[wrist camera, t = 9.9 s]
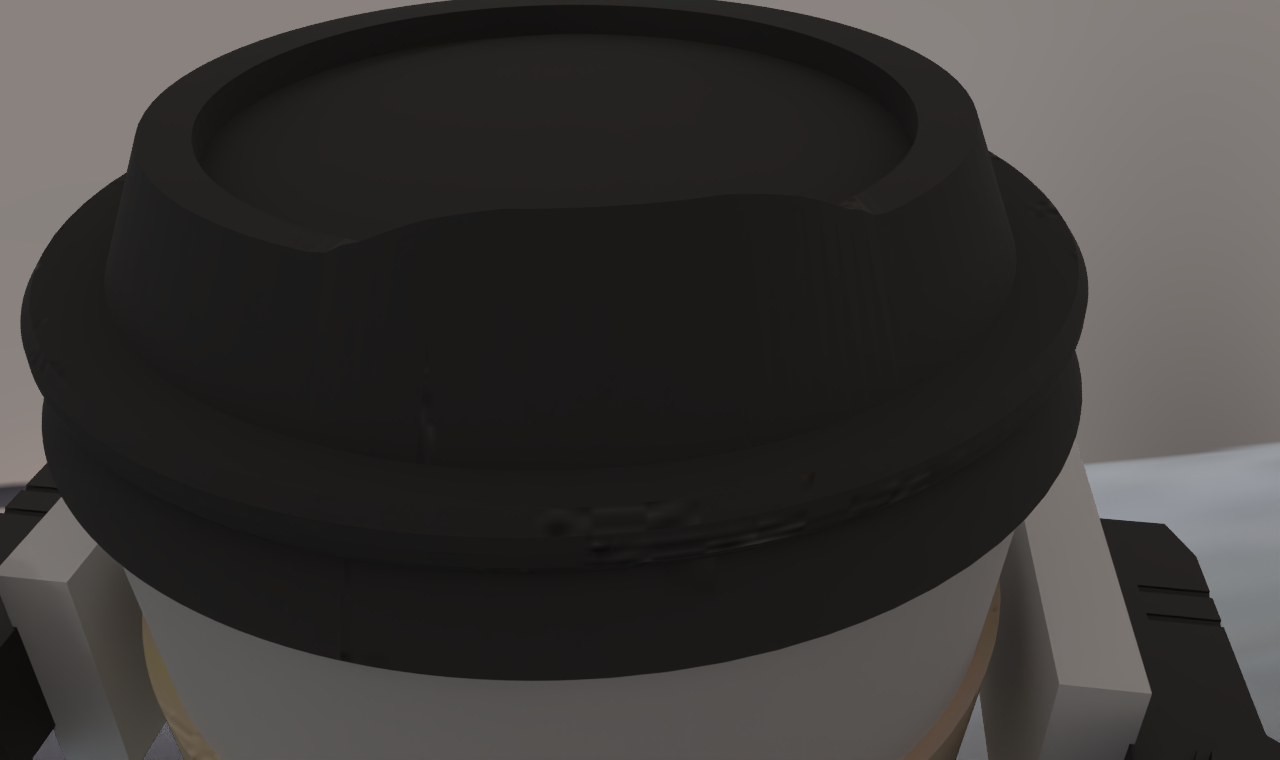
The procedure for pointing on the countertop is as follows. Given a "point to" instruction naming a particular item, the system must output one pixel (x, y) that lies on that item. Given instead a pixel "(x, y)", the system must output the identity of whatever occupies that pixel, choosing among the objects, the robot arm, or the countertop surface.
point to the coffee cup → (562, 387)
